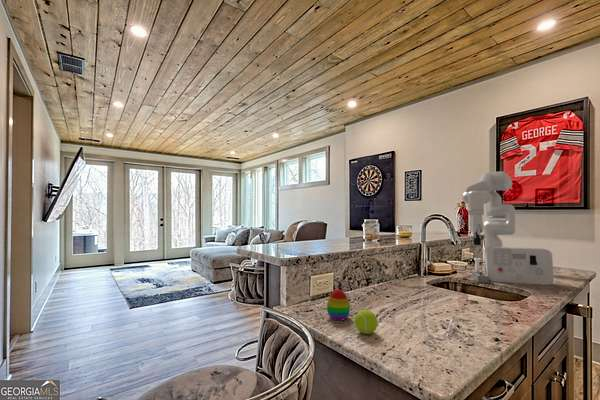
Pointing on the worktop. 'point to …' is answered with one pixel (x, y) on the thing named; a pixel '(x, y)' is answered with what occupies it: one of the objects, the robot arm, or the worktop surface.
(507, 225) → the robot arm
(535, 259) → the rounded white slab
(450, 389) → the worktop surface
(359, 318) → the tennis ball
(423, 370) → the worktop surface
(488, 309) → the worktop surface
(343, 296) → the decorative egg
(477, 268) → the breaker handle
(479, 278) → the breaker block
